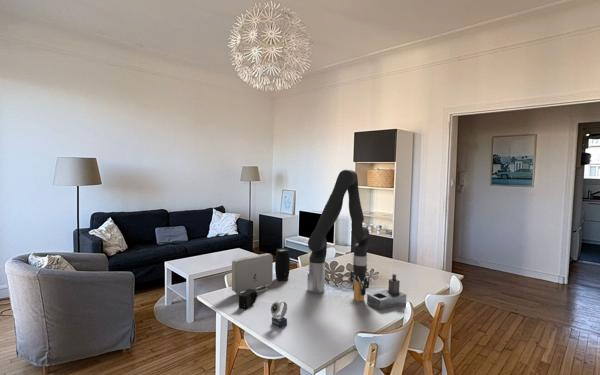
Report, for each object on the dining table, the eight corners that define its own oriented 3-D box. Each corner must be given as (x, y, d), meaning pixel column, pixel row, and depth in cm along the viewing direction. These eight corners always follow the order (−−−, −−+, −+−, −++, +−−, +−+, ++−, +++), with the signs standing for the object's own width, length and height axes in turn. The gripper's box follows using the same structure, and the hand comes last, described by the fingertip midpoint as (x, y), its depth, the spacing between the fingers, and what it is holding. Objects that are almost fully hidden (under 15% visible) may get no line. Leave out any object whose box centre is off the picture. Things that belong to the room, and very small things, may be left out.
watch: (268, 325, 150) (268, 301, 150) (281, 319, 156) (282, 297, 155) (276, 329, 146) (276, 305, 146) (289, 324, 152) (290, 300, 151)
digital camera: (248, 310, 166) (248, 296, 165) (238, 308, 168) (238, 295, 167) (257, 302, 176) (257, 289, 175) (248, 301, 177) (248, 288, 177)
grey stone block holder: (379, 310, 169) (380, 300, 168) (367, 303, 177) (367, 293, 177) (406, 303, 178) (406, 294, 177) (392, 297, 186) (392, 288, 186)
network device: (237, 298, 181) (237, 262, 180) (229, 293, 187) (229, 258, 186) (274, 287, 198) (275, 254, 196) (266, 283, 204) (266, 251, 203)
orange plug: (358, 301, 180) (359, 277, 179) (353, 298, 183) (354, 275, 182) (364, 300, 182) (364, 276, 181) (359, 297, 185) (360, 274, 184)
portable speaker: (289, 281, 209) (290, 251, 208) (274, 281, 208) (275, 251, 207) (289, 276, 217) (289, 247, 216) (274, 277, 217) (275, 247, 215)
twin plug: (393, 300, 177) (394, 276, 176) (388, 297, 181) (388, 274, 180) (398, 298, 179) (399, 275, 178) (393, 296, 183) (394, 273, 182)
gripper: (346, 260, 186) (345, 289, 187) (363, 267, 173) (362, 298, 174) (357, 259, 189) (356, 287, 190) (374, 265, 177) (373, 296, 178)
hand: (359, 292), depth 182 cm, fingers open, 6 cm apart
